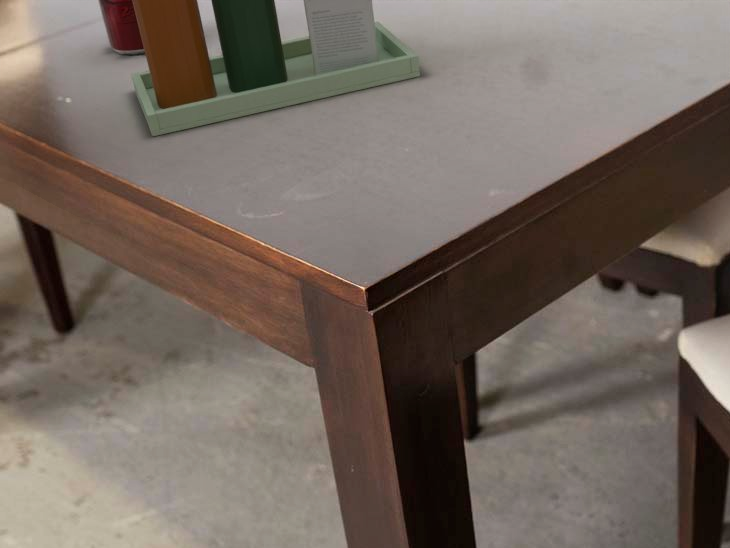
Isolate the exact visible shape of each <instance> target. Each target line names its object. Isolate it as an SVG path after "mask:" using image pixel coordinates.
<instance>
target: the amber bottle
mask: <svg viewBox="0 0 730 548" xmlns="http://www.w3.org/2000/svg"><path fill="white" fill-rule="evenodd" d="M132 1H133V5H134V9H135V14H136V18H137V22H138V26H139V30H140V34H141V38H142V42H143V46H144V51H145V53H144V55H145V58H146V62H147V68H148V71H150V75H151V79H152V83H153V87H154V92H155V96H156V100H157V104H158V106H159V108H162V109H167V108H171V107H176V106H180V105H185V104H189V103H194V102H198V101H203V100H207V99H212V98H215V97H216V95H217V93H216V88H215V83H214V78H213V74H212V69H211V64H210V59H209V58H210V55H209V50H208V46H207V41H206V35H205V31H204V26H203V22H202V18H201V12H200V7H199V3H198V0H132Z"/></svg>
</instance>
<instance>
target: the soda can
mask: <svg viewBox="0 0 730 548" xmlns="http://www.w3.org/2000/svg"><path fill="white" fill-rule="evenodd" d="M97 1H98V2H97V3H98V5H99V7H100V8H99V9H100V12H101V17H102V20H103V23H104V24H103V25H104V28H105V32H106V36H107V39H108V45H109V46H110V48H111V49H112V50H113V51H115V52H116V53H118V54H121V55H141V54H145V51H144V46H143V42H142V38H141V34H140V30H139V26H138V22H137V18H136V14H135V9H134V5H133V1H132V0H97Z"/></svg>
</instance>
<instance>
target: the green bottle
mask: <svg viewBox="0 0 730 548" xmlns="http://www.w3.org/2000/svg"><path fill="white" fill-rule="evenodd" d="M211 5H212V10H213V15H214V19H215V26H216V31H217V35H218V41H219V45H220V49H221V55H223V60H224V65H225V70H226V75H227V80H228V84H229V88H230V90H231V91H232V92H234V93H239V92H243V91H248V90H252V89H257V88H261V87H266V86H270V85H275V84H279V83H284V82H287V80H288V77H287V71H286V65H285V60H284V54H283V48H282V42H283V41H282V37H281V31H280V25H279V19H278V13H277V8H276V3H275V0H211Z"/></svg>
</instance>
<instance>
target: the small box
mask: <svg viewBox="0 0 730 548" xmlns="http://www.w3.org/2000/svg"><path fill="white" fill-rule="evenodd" d="M303 5H304V11H305V12H304V13H305V18H306V24H307V30H308V31H307V32H308V36H309V38H310V45H311V51H312V57H313V64H314V71H315V76H316V75H320V74H325V73H329V72H334V71H338V70H343V69H347V68H352V67H356V66H361V65H365V64H370V63H374V62H379V54H378V46H377V38H376V30H375V22H376V21H375V15H374V7H373V0H303Z"/></svg>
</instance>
